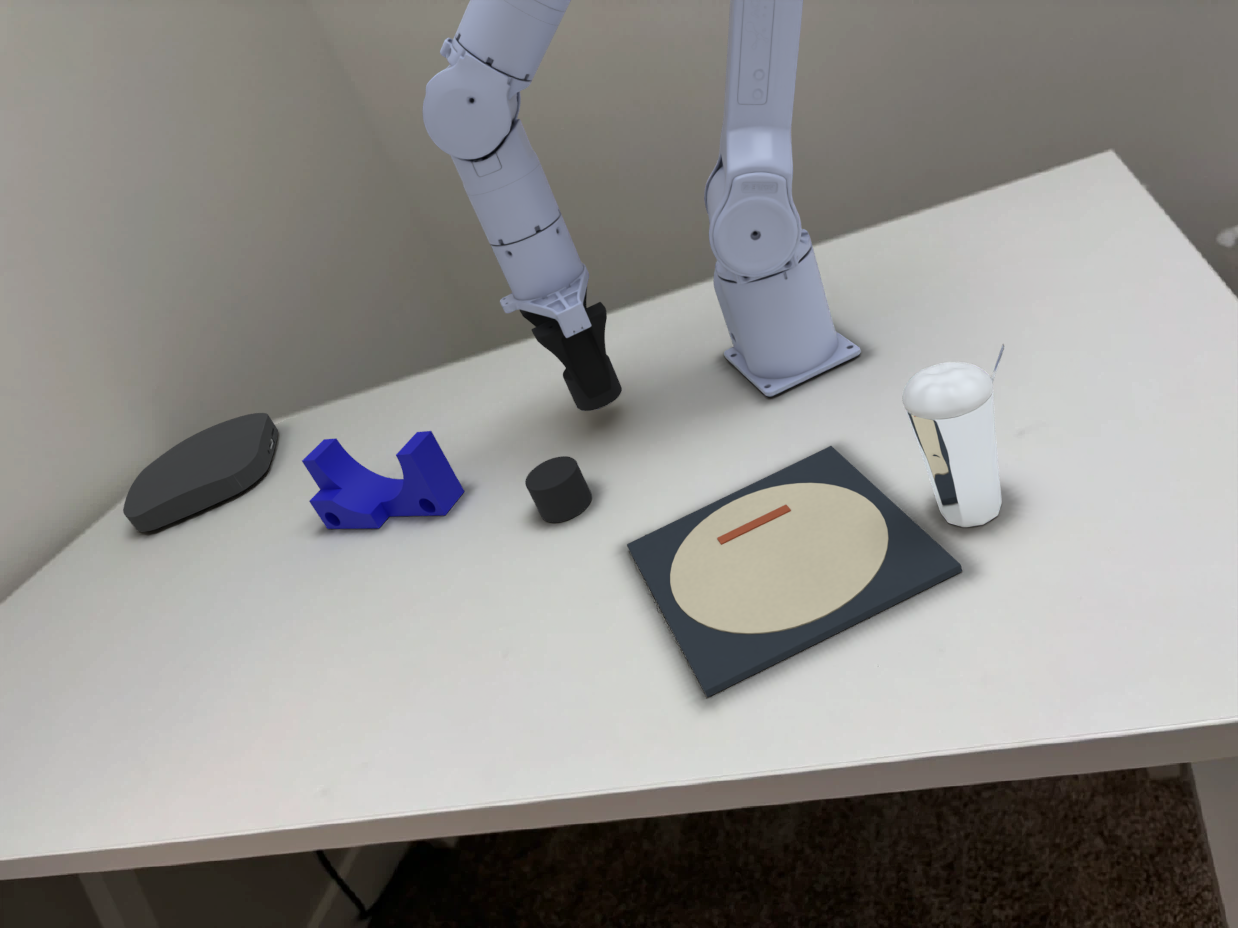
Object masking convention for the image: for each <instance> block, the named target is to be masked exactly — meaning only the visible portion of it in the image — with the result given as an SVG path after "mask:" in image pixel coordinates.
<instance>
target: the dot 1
mask: <svg viewBox="0 0 1238 928" xmlns="http://www.w3.org/2000/svg"><path fill="white" fill-rule="evenodd" d="M524 483H525V484H524V485H525V487H526V489H527V491H528V493H529V495H530V497H531V499H532V501H533V503H534V505H535V507H536V508H537V511H538V513H539V515H540V517H541V518H542V519H543V520H544V521H545V522H547V523H555V524H556V523H562V522H566V521H569V520H571V519H573V518H575V517H577V516H579V515H580V514H582V512H584V511H585V510H586V509H587V508H588V507H589V505H590V504H591V501H592V499H593V497H592V496H593V494H592V492H591V490H590V487H589V485H588V483H587V481H586V479H585V477H584V475H583V472H582V470H581V468H580V466H579V464H578V462H577V460H576V459H575V458H574V457H571V456H567V455H562V456H561V455H560V456H555V457H551V458H549V459H547V460H544V461H543V462H541V463H539V464H538V465H536V466H535V467H533V469H531V470H530V472H528V474H527V476H526V478H525V481H524Z"/></svg>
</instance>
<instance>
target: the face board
mask: <svg viewBox="0 0 1238 928" xmlns="http://www.w3.org/2000/svg"><path fill="white" fill-rule="evenodd" d="M626 547H627V549H628V551H629V553H630V555H631V556H632V558H633V560H634V562H635V565H636V566H637V568H638V570H639V572H640V573H641V575H642V577H643V579H644V581H645V583H646V585H647V587H648V588H649V590H650V593H651V594H652V596H653V598H654V600H655V601H656V604H657V605H658V607H659V609H660V611H661V613H662V615H663V617H664V619H665V621H666V623H667V625H668V627H669V628H670V630H671V632H672V634H673V636H674V637H675V639H676V641H677V643H678V645H679V647H680V649H681V650H682V653H683V654H684V657H685V658H686V660H687V662H688V664H689V666H690V668H691V669H692V672H693V674H694V676H695V677H696V679H697V681H698V683H699V684H700V687H701V688H702V691H703V692H704V694H705V697H707V698H709V697H712V696H713V695H715V694H717V693H719V692H721V691H723V690H725V689H727V688H729V687H731V686H734V685H735V684H737V683H740V682H742V681H743V680H745V679H748V678H749V677H752V676H754V675H755V674H758V673H759V672H761V671H764V670H765V669H767V668H770V667H772V666H774V665H776V664H778V663H780V662H781V661H783V660H786V659H788V658H790V657H792V656H794V655H796V654H798V653H800V652H802V651H804V650H807V649H808V648H810V647H813V646H814V645H816V644H818V643H821V642H822V641H825V640H826V639H829V638H830V637H833V636H835V635H836V634H838V633H840V632H842V631H844V630H847V629H848V628H851V627H852V626H855V625H856V624H858V623H861V622H862V621H863V622H864V621H865V620H867V619H869V618H870V617H872V616H875V615H877V614H879V613H881V612H883V611H885V610H887V609H889V608H891V607H893V606H895V605H897V604H899V603H901V602H903V601H905V600H907V599H909V598H911V597H913V596H916V595H917V594H919V593H921V592H923V591H925V590H927V589H929V588H932V587H934V586H935V585H937V584H939V583H941V582H943V581H945V580H947V579H949V578H951V577H953V576H955V575H958V574H960V573H962V572H963V568H962V564H961V563H960V562H959V561H958V560H957V559H955V558H954V557H953V556H952V555H951V553H949V552H948V551H947V550H946V549H944V547H943V546H942V545H940V544H939V543H938V542H937V541H936V540H935V539H934V538H933V537H932V536H930V535H929V534H928V533H927V532H926V531H925V530H924V529H923V528H922V527H921V526H919V525H918V524H917V523H916V522H915V521H914V520H913V519H912V518H911V517H910V516H909V515H907V514H906V513H905V512H904V511H903V510H902V509H901V508H900V507H899V506H898V505H896V503H894V501H892V500H891V499H890V498H889V497H888V496H887V495H886V494H885V493H884V492H882V491H881V490H880V489H879V488H878V487H877V486H876V485H875V484H873V482H872V481H870V480H869V478H867V477H866V476H865V475H864V474H863V473H862V472H860V471H859V469H857V468H856V467H855V466H854V465H853V464H852V463H851V462H849V461H848V460H847V459H846V458H845V457H844V456H843V454H841V453H840V452H839V451H838V450H837V449H835V448H834V446H832V445H829V446H827V447H824V448H823V449H821V450H819V451H817V452H815V453H813V454H810V455H809V456H806V457H805V458H803V459H799V460H798V461H796V462H794V463H792V464H790V465H788V466H785V467H784V468H782V469H779V470H777V471H775V472H774V473H771V474H769V475H767V476H765V477H763V478H761V479H758V480H757V481H755V482H753V483H751V484H748V485H747V486H744V487H742V488H740V489H738V490H735V491H734V492H732V493H730V494H728V495H725V496H724V497H722V498H720V499H717V500H715V501H713V502H712V503H710V504H707V505H705V506H703V507H701V508H699V509H697V510H695V511H692V512H690V513H689V514H686V515H684V516H682V517H680V518H678V519H676V520H674V521H671V522H669V523H667V524H666V525H663V526H662V527H660V528H658V529H655V530H654V531H651V532H649V533H647V534H645V535H643V536H641V537H638V538H637V539H634V540H632V541H630V542H628V543H626Z"/></svg>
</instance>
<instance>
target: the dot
mask: <svg viewBox="0 0 1238 928" xmlns="http://www.w3.org/2000/svg"><path fill="white" fill-rule="evenodd" d="M606 355H607V360H608V365H609V370H610V375H611V382H612V389H611V390H609V391H607V392H605V393H603V394H601V395H599V396H597V397H594V398H592V399H588V398H587V397H586V396H585V395H584V394H583V392H582V391H581V390H580V388H579V387H578V385H577V384H576V382H575V381H574V379H573V378H572V376H571V375H570V373H569V372H568V370H567V369H566V368H565V369H564V370H563V372H562V378H563V381H564V383H565V385H566V387H567V390H568V391H569V393H570V396H571V398H572V400H573V402H574V404H575V407H576V408H577V410H579V411H582V412H592V411H597V410H599V409H602V408H605V407H607V406H608V405H610V404H612V403H613V402H615V401H616V400H617V399H618V398H619V397H620V396H621V394H622V391H623V387H622V385H621V382H620V379H619V377H618V375H617V372H616V370H615V368H614V365H613V363H612V360H611V359H610V356H609V355H608V354H607V353H606Z"/></svg>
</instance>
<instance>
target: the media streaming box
mask: <svg viewBox="0 0 1238 928" xmlns="http://www.w3.org/2000/svg"><path fill="white" fill-rule="evenodd" d="M278 434H279V428H277V426H276V425H275V423H274V422H273V420H272V419H271V417H270V415H269V413H267V412H256V413H255V412H254V413H249V414H245V415H240V416H238V417H237V416H236V417H234V418H231V419H228V420H225V421H222V422H220V423H217V424H214V425H212V426H210V427H207V428H205V429H203V430H201V431H199V432H196V433H195V434H192V435H191V436H189V437H187V438H185V439H184V440H182V441H180V442H178V443H177V444H175V445H174V446H172V447H170V448H169V449H168V450H167V451H165V452H164V453H162V454H161V455H160V456H159V457H157V458H156V459H154V460H153V461H152V462H150V463H149V464H148V465H147V466H146V467H144V468H143V469H142V470H141V471H140V472H139V474H138V475H137V476H136V478H135V479H134V480H133V482H132V483H131V485H130V487H129V489H128V492H127V494H126V497H125V500H124V504H123V507H122V513H123V515H124V516H125V517H126V519H127V520H128V521H129V523H130V524H131V525H132V526H133V527H134V529H135V530H136V531H138V532H140V533H141V532H142V533H146V532H151V531H155V530H158V529H160V528H162V527H165V526H167V525H170V524H172V523H176V522H177V521H179V520H182V519H184V518H186V517H189V516H191V515H193V514H195V513H198V512H200V511H203V510H205V509H207V508H210V507H211V506H215V505H216V504H218V503H221V502H223V501H225V500H228V499H230V498H232V497H234V496H236V495H238V494H241V492H243V491H245V490H247V489H248V488H250V487H251V486H252V485H254V484H255V483H256V482H257V481H259V479H261V478H262V477H263V476H264V474H265V473H266V472H267V471H268V469H269V468H270V464H271V461H272V460H273V456H274V453H275V449H276V445H277V441H278Z"/></svg>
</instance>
